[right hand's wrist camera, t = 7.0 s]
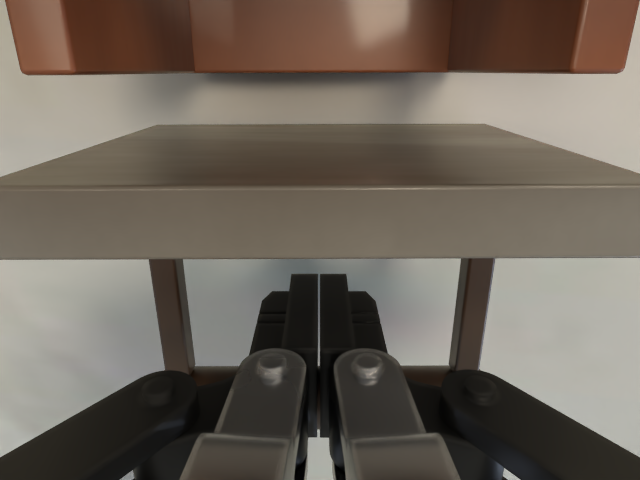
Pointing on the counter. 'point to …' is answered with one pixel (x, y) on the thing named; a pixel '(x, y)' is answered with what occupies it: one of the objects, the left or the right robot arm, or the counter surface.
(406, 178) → the drawer
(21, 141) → the counter surface
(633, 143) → the counter surface
